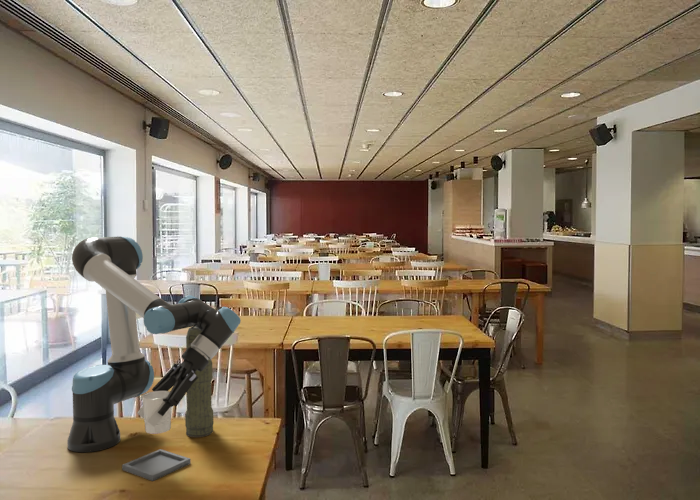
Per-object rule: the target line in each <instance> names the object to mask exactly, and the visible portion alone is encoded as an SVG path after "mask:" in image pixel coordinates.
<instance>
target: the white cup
mask: <svg viewBox="0 0 700 500" xmlns="http://www.w3.org/2000/svg"><path fill="white" fill-rule="evenodd" d="M169 393H170V390H168V391H153V390H152V391H150V392H146V393H144V394H142V396H141V397H142V406H143V414H144V418H143V420H144V421H143V422H144V430H145V432H146V433H147V434H153V435H154V434H155V435H156V434H163V433H167V432H168V431H170V430H171V428H172V421H171V420H172V409H173V406H172V407H170V408H169V410H168V411H167V412H166V413H165V415H164V416H163V417H162V418H161V419H160V421H159V422H158V423H157V424H156V426H155V427H154V426H152V425H151V424H150V423H148V422H147V419H148V418H149V417H150V416H151V414H152V413H153V412H154V411H155V410H156V408H157V407H158V406H159V405H160V404H161V402H162V401H163V399H165V398H167V396H168V395H169ZM165 403H166V402H165Z"/></svg>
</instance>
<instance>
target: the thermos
mask: <svg viewBox="0 0 700 500" xmlns="http://www.w3.org/2000/svg"><path fill="white" fill-rule="evenodd" d="M187 329H188V330H187V333H186V337H185V342H186V343H185V345H186V346H185V347H186V349H185V351H186V350H187V348H188V347H192V346H191V343H192V342H193V341H194V340H195V339H196V337H197V336H198V335H199V334H200V333H201V332H202V331H201V330H200V329H198V328H197V327H195V326H192V327H188V328H187ZM208 361H209V362H208V365H207V366H206V367H205V368H204V369H203V371H201V372H200V371H198V370H197V371H196V372H195V375H197V376H198V379H197V380H196V381H195V382H194V383H193V384H192V385H191V387H190V388H189V390H188V391H187V392H186V411H185V415H184V417H185V418H184V419H185V423H184V424H185V425H184V426H185V429H186V430H185V435H186V436H188V437H190V438H203V437H207V436H210V435H212V434H213V433H214V409H213V407H212V406H213V405H212V381H213V378H214V377H213V360H212V359H211V360H208ZM189 381H190V380H189ZM212 432H213V433H212ZM211 433H212V434H211Z"/></svg>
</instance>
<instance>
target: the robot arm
mask: <svg viewBox="0 0 700 500" xmlns="http://www.w3.org/2000/svg"><path fill="white" fill-rule="evenodd" d="M143 257H144V254H143V250H142V248H141V246H140V244H139V243H138V242H137V241H135V239H134V238H131V237H128V236H127V237H126V236H119V235H117V236H103V237H102V236H101V237H96V236H95V237H93V236H92V237H88V238H85V239H83V240H81V241H79V242H78V243H77V244H76V245H75V247H74V249H73V251H72V254H71V261H72V262H71V263H72V266H73V267H74V270H75V271H76V272H77V273H78V274H79V275H80V276H81V277H82V278H84V279H85V280H86V281H88V282H91V283H92V282H95V283H96V284H97V285H99V286H100V287H101V288H103V289H104V290H105V297H106V307H107V309H106V310H107V318H108V326H109V328H108V329H109V338H110V349H111V356H110V357H109V358H108V359H107V364H97V365H94V366H93V365H92V366H87V367H85V368H82V369H80V370H78V371H76V373H75V374H74V375H73V377H72V383H71V385H72V386H71V391H72V420H73V422H72V424H71V428H70V432H69V435H68V437H67V449H68V450H69V451H71V452H74V453H92V452H93V453H94V452H98V451H99V452H100V451H103V450H106V449H109V448H112V447H114V446H116V445H117V444H119V443H120V442H121V431H120V428H119V426H118V425H119V424H118V423H117V421H116V417H115V412H114V411H115V409H114V407H115V406H114V405H115V404H119V403H121V402H124V401H127V400H130V399H133V398H138V397H140V396H141V395H144V394H146V393H148V391H149V390H150V388H151V390H152V392H153V391H169V392H170V393H169V395H168V396H167V398H165V399H163V401H162V402H161V404H160V405H159V406H158V407H157V408H156V410H155V411H154V412H153V413H152V414H151V416H150V417H149V418H148V419H147V422H148V423H150V424H151V425H152V426H154V427H155V426H156V424H157V423H158V422H159V421H160V419H161V418H162V417H163V416H164V415H165V413H166V412H167V411H168V410H169V408H170V407H172V408H173V406H174V407H175V408H176V407H177V406H178V405H179V404H180V403H181V401H182V400H183V398H184V397H185V395H187V391H188V390H189V388H190V387H191V385H192V384H193V383H194V382H195V381H196V380H197V379H198V376H197V375H195V372H196V371H197V370H198V371H200V372H201V371H203V369H204V368H205V367H206V366H207V365H208V362H209V361H208V360H212V359H214V357H215V356H217V355H218V352H219V351H220V350H221V349H222V347H223V345H224V344H226V342H227V340H228V339H229V338H231V336H232V335H233V334H234V333H235V331H236V329H237V328H238V327H239V325H240V324H241V323H242V322H241V321H242V319H241V317H240V316H239V314H237V313H236V312H235V311H234V310H232V309H231V308H230V307H227V306H222V307H221V308H220V309H215V308H214V307H212V306H211V305H209V304H207V303H206V302H204V301H202V299H200V298H198V297H195V296H194V295H185V296H184V297H183V298H180V300H179V301H178V303H175V304H174V303H173V304H170V303H168V301H165V300H164V299H163V298H161V297H160V296H159V295H157V294H156V293H155V292H153V291H152V290H150V289H149V288H148V287H146V286H145V285H144V284H142V283H141V282H139V280H137V279H136V277H137V275H138V274H137V273H138V272H137V270H138V269H139V268H140V267H141V265H142V263H143ZM137 315H138V316H140V317H141V318H143V325H144V327H145V328H146V330H147V332H149V333H150V334H152V335H161V334H163V335H164V334H167V333H171V332H175V331H179V330H183V329H189V328H191V327H193V326H195V327H197V328H198V329H200V330H201V331H202V332H201V333H200V334H199V335H198V336H197V337H196V339H195V340H194V341H193V342H192V343H191V346H192V347H188V348H187V350H186V349H185V351H183V353H182V354H181V359H183V361H182V362H181V363H180V364H178V363H174V364H173V365H172V366H171V368H170V369H169V370H168V371H167V372H166V374H164V375H163V376H162V378H161V379H160V380H159V381H158V382H157V383H156V384H155V385H154V386H153V384H154V380H155V371H154V367H153V365H151V362H150V361H149V360H147V359H146V356H145V354H144V353H143V352H141V351H140V343H139V334H138V322H137ZM189 380H190V381H189ZM152 386H153V387H152ZM165 402H166V403H165ZM136 414H137V415H138V416H140V417H141V418H143V419H144V414H143V405H142V406H141V407H140V409H139V410H138V411H137V412H136Z"/></svg>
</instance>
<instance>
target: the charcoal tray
mask: <svg viewBox="0 0 700 500" xmlns="http://www.w3.org/2000/svg"><path fill="white" fill-rule="evenodd" d="M191 461H192V460H191V458H190V457H186V456H184V455H180V454H178V453H177V454H176V453H174V452H171V451H167V450H165V449H161V448H160V449H157V450H155V451H152V452H150V453H147V454H145V455H143V456H140V457H138V458H135V459H133V460H131V461H128V462H126V463H123V464H121V470H122V471H123V472H127V473H130V474H133V475H135V476H137V477H140V478H143V479H146V480H148V481H151V482H155V481H156V480H159V479H161V478H164V477H165V476H167V475H169V474H172V473H173V472H176V471H178V470H180V469H182V468H184V467H187V466H189V465H191Z"/></svg>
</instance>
